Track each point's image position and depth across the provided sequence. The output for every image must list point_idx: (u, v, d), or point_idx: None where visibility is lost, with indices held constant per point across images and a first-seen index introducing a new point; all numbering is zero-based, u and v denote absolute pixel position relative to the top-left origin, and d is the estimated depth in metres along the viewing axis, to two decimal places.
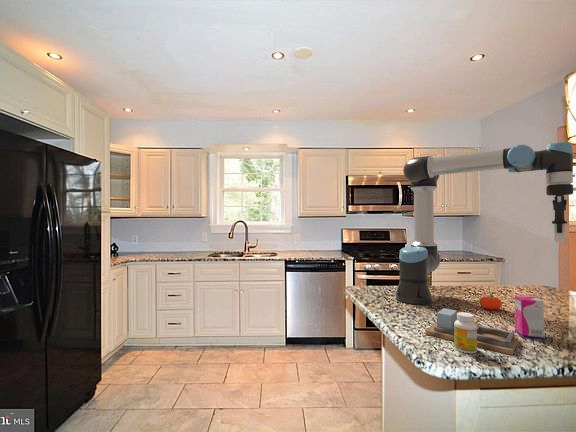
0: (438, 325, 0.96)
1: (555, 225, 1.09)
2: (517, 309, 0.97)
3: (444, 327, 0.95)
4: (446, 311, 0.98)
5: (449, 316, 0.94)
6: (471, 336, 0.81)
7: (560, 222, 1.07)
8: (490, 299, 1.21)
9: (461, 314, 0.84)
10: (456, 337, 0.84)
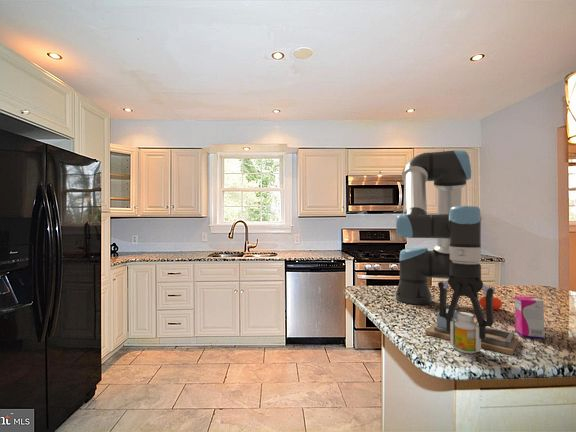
0: (438, 325, 0.96)
1: None
2: (517, 309, 0.97)
3: (444, 327, 0.95)
4: (446, 311, 0.98)
5: None
6: (471, 336, 0.81)
7: None
8: None
9: (461, 314, 0.84)
10: (456, 337, 0.84)
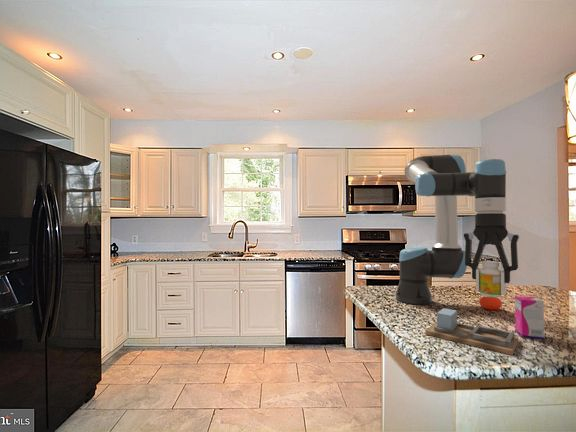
0: (438, 325, 0.96)
1: None
2: (517, 309, 0.97)
3: (444, 327, 0.95)
4: (446, 311, 0.98)
5: (449, 316, 0.94)
6: (497, 281, 0.87)
7: None
8: (490, 299, 1.21)
9: (486, 261, 0.90)
10: (482, 283, 0.89)
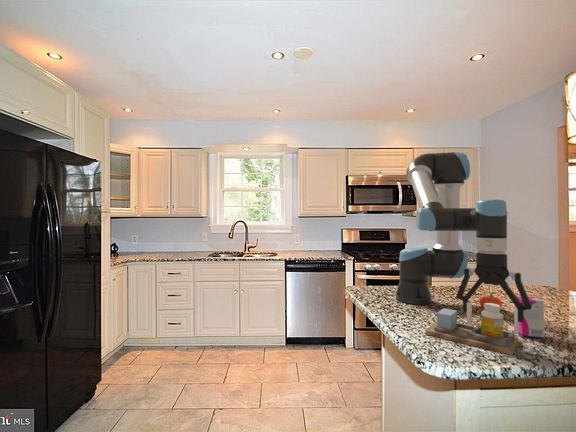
0: (438, 325, 0.96)
1: None
2: None
3: (444, 327, 0.95)
4: (446, 311, 0.98)
5: (449, 316, 0.94)
6: (498, 325, 0.87)
7: None
8: (490, 299, 1.21)
9: (488, 304, 0.90)
10: (483, 326, 0.89)
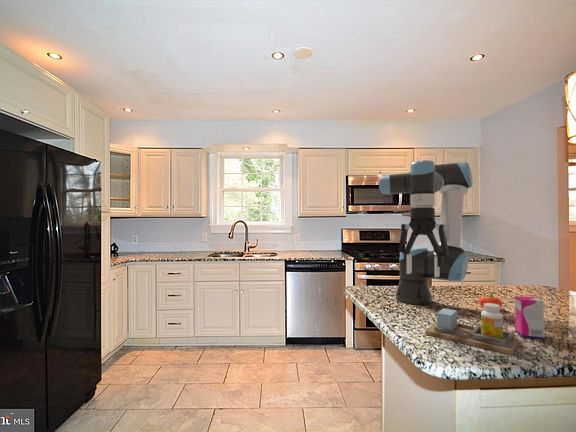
0: (438, 325, 0.96)
1: None
2: (517, 309, 0.97)
3: (444, 327, 0.95)
4: (446, 311, 0.98)
5: (449, 316, 0.94)
6: (498, 325, 0.87)
7: None
8: (490, 299, 1.21)
9: (488, 304, 0.90)
10: (483, 326, 0.89)
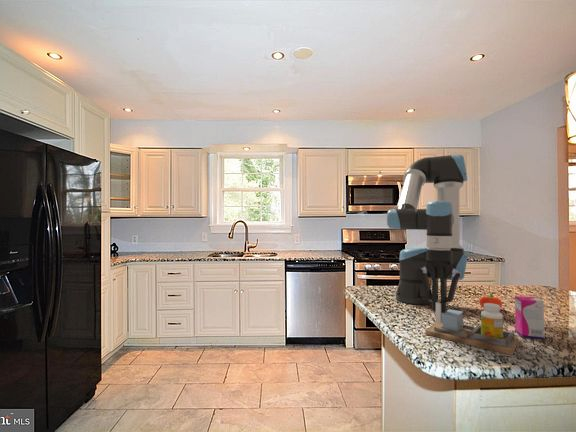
0: (444, 326, 0.95)
1: None
2: (517, 309, 0.97)
3: (450, 328, 0.93)
4: (451, 312, 0.97)
5: (455, 317, 0.93)
6: (498, 325, 0.87)
7: None
8: (490, 299, 1.21)
9: (488, 304, 0.90)
10: (483, 326, 0.89)
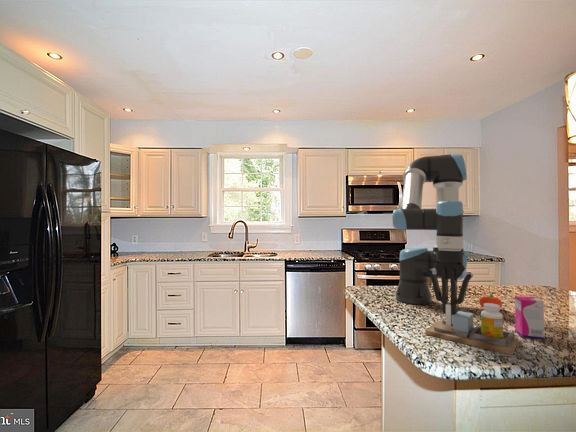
0: (454, 328, 0.93)
1: None
2: (517, 309, 0.97)
3: (461, 331, 0.92)
4: (462, 314, 0.95)
5: (466, 319, 0.91)
6: (498, 325, 0.87)
7: None
8: (490, 299, 1.21)
9: (487, 304, 0.90)
10: (483, 326, 0.89)
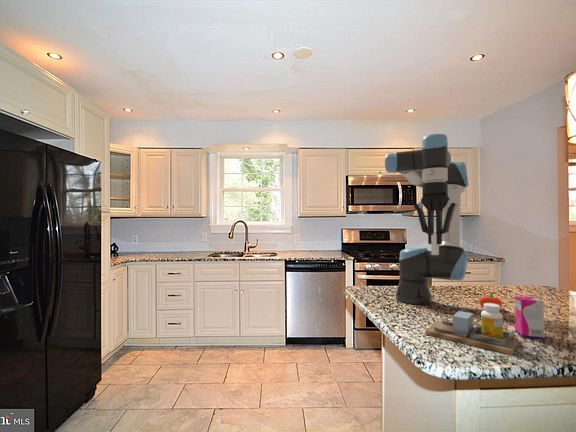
0: (454, 328, 0.93)
1: None
2: (517, 309, 0.97)
3: (460, 331, 0.92)
4: (461, 314, 0.95)
5: (466, 319, 0.91)
6: (498, 325, 0.87)
7: None
8: (490, 299, 1.21)
9: (487, 304, 0.90)
10: (483, 326, 0.89)
